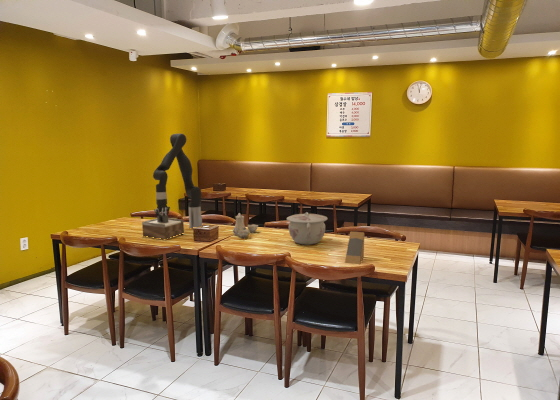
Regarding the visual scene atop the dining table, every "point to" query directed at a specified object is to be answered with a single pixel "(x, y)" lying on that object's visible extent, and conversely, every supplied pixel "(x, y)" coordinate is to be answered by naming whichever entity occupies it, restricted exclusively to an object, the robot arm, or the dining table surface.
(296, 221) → the chamber pot
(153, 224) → the box
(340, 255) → the dining table surface
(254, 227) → the chinaware
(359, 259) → the sandwich container
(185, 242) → the dining table surface
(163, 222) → the lid
